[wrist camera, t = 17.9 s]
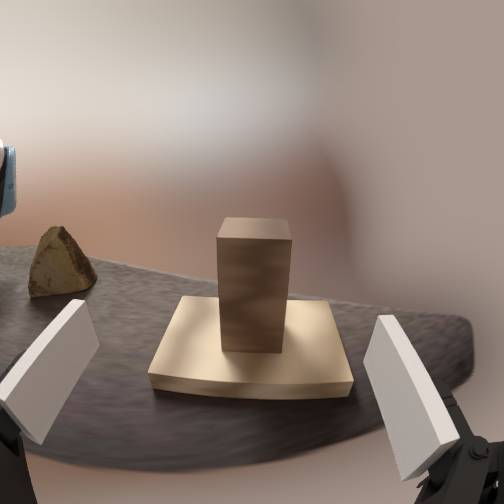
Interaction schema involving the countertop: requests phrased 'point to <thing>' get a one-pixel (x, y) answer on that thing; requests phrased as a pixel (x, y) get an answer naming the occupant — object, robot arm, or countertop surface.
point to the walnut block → (253, 283)
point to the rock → (59, 266)
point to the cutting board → (252, 356)
